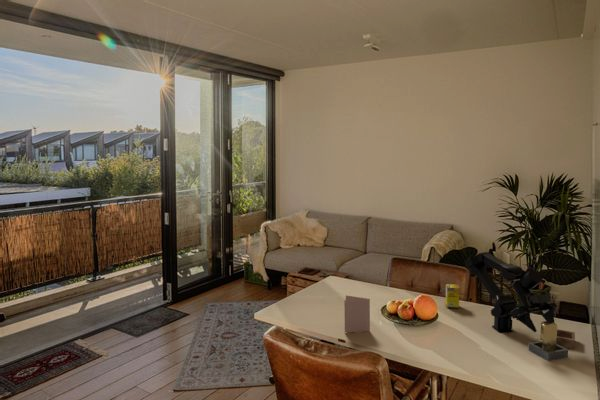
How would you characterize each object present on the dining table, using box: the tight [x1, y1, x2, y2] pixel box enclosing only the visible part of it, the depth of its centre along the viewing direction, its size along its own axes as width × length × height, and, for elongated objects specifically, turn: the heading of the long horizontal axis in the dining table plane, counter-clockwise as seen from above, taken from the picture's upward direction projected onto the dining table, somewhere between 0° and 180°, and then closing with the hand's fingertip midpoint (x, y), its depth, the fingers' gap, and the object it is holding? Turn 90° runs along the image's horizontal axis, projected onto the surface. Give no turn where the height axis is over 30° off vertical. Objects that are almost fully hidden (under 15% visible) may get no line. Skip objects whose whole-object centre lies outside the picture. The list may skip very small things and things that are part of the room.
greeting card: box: [343, 295, 371, 333], centre depth 194 cm, size 11×7×15 cm, turn 62°
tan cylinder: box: [539, 320, 558, 352], centre depth 170 cm, size 6×6×11 cm
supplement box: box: [444, 283, 460, 309], centre depth 222 cm, size 6×6×11 cm
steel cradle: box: [527, 340, 569, 362], centre depth 170 cm, size 10×10×3 cm
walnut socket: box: [556, 328, 576, 349], centre depth 180 cm, size 9×9×4 cm
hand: (545, 330), depth 171 cm, fingers open, 9 cm apart
